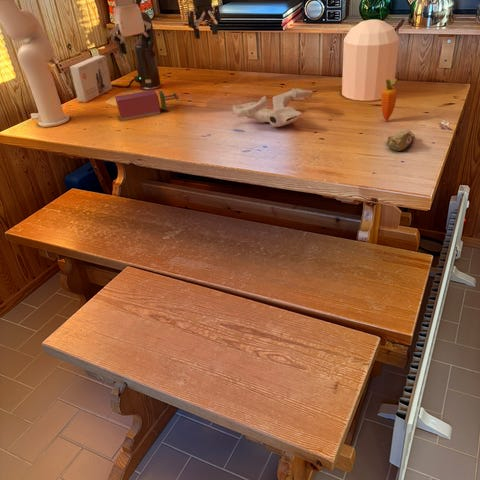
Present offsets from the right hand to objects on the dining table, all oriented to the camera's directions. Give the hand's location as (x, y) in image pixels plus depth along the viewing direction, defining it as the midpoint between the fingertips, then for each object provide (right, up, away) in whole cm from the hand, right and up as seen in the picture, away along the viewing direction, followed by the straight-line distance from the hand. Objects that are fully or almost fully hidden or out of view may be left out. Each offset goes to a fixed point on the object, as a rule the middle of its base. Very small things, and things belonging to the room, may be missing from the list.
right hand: (206, 36), depth 187 cm
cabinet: (-28, -30, +7) cm, 42 cm away
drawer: (-22, -28, +8) cm, 36 cm away
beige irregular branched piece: (+28, -40, -15) cm, 51 cm away
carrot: (+66, -40, -21) cm, 80 cm away
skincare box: (-56, -13, +36) cm, 67 cm away
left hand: (-27, -9, -8) cm, 30 cm away
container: (+67, -21, +6) cm, 70 cm away
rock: (+65, -52, -39) cm, 92 cm away
